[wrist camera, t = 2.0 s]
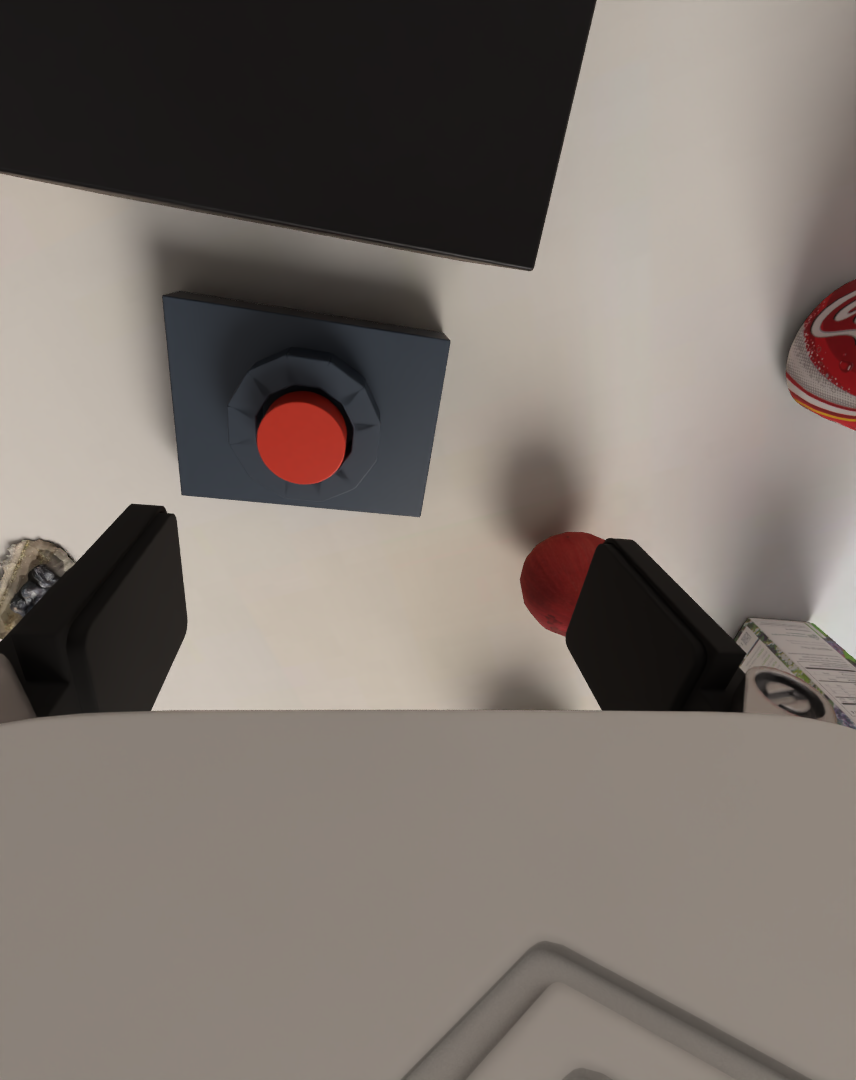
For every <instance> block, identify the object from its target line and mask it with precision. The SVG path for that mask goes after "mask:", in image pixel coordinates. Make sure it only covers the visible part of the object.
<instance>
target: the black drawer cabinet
mask: <svg viewBox="0 0 856 1080" xmlns="http://www.w3.org/2000/svg"><path fill="white" fill-rule="evenodd" d="M596 1H597V0H0V173H1V174H6V175H11V176H16V177H21V178H26V179H31V180H35V181H40V182H45V183H50V184H55V185H60V186H65V187H70V188H75V189H80V190H85V191H90V192H95V193H100V194H105V195H110V196H116V197H121V198H126V199H132V200H137V201H142V202H148V203H153V204H158V205H164V206H169V207H175V208H180V209H185V210H191V211H196V212H201V213H207V214H212V215H218V216H223V217H228V218H234V219H239V220H244V221H250V222H255V223H260V224H266V225H271V226H277V227H282V228H287V229H293V230H298V231H303V232H309V233H314V234H320V235H325V236H330V237H336V238H341V239H346V240H352V241H357V242H362V243H368V244H373V245H379V246H384V247H389V248H395V249H400V250H405V251H411V252H416V253H422V254H427V255H432V256H438V257H443V258H448V259H454V260H459V261H465V262H472V263H478V264H485V265H492V266H499V267H505V268H512V269H519V270H526V271H532V270H533V268H534V265H535V261H536V257H537V253H538V248H539V244H540V240H541V235H542V231H543V227H544V223H545V218H546V214H547V210H548V206H549V201H550V197H551V193H552V188H553V184H554V180H555V176H556V171H557V167H558V163H559V159H560V154H561V150H562V146H563V142H564V137H565V133H566V129H567V124H568V120H569V116H570V112H571V107H572V103H573V99H574V95H575V90H576V86H577V82H578V77H579V73H580V69H581V65H582V60H583V56H584V52H585V48H586V43H587V39H588V35H589V30H590V26H591V22H592V18H593V13H594V9H595V5H596Z"/></svg>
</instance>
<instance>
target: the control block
mask: <svg viewBox="0 0 856 1080" xmlns="http://www.w3.org/2000/svg"><path fill="white" fill-rule="evenodd" d="M162 299H163V309H164V319H165V329H166V340H167V350H168V360H169V370H170V381H171V391H172V401H173V412H174V422H175V432H176V442H177V453H178V463H179V473H180V483H181V494H182V495H186V496H196V497H207V498H218V499H229V500H240V501H250V502H261V503H272V504H283V505H294V506H305V507H315V508H326V509H337V510H348V511H359V512H369V513H380V514H391V515H402V516H413V517H420V516H421V511H422V505H423V499H424V493H425V487H426V481H427V476H428V470H429V464H430V458H431V452H432V446H433V441H434V435H435V429H436V423H437V417H438V411H439V406H440V400H441V394H442V388H443V382H444V376H445V371H446V365H447V359H448V353H449V347H450V340H449V339H448V337H447V336H446V335H445V334H444V333H441V332H434V331H428V330H422V329H416V328H409V327H403V326H397V325H391V324H384V323H378V322H372V321H365V320H359V319H353V318H347V317H340V316H334V315H328V314H321V313H315V312H309V311H303V310H296V309H290V308H284V307H278V306H271V305H265V304H259V303H252V302H246V301H240V300H234V299H227V298H221V297H215V296H209V295H202V294H196V293H190V292H183V291H179V292H174V293H170V294H166V295H163V296H162ZM295 391H309V392H313V393H316V394H319V395H321V396H323V397H325V398H327V399H328V400H330V401H331V402H332V403H333V404H334V405H335V406H336V407H337V408H338V410H339V411H340V412H341V414H342V416H343V418H344V421H345V424H346V429H347V440H346V449H345V455H344V459H343V461H342V463H341V465H340V467H339V468H338V470H337V471H336V472H335V473H334V474H333V475H332V476H330V477H329V478H327V479H325V480H323V481H321V482H318V483H314V484H296V483H292V482H289V481H286V480H284V479H282V478H280V477H278V476H277V475H276V474H274V473H273V472H272V471H271V470H270V469H269V468H268V467H267V466H266V465H265V463H264V462H263V460H262V458H261V456H260V454H259V451H258V447H257V431H258V427H259V425H260V422H261V421H262V419H263V417H264V415H265V414H266V412H267V411H268V409H269V407H270V406H271V405H272V403H273V402H274V401H275V400H277V399H278V398H279V397H281V396H283V395H285V394H287V393H290V392H295Z"/></svg>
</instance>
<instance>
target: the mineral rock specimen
mask: <svg viewBox="0 0 856 1080" xmlns="http://www.w3.org/2000/svg"><path fill="white" fill-rule="evenodd" d="M7 549H8V551H9V553H10V556H8V555H7V554H6V556H7V557H8V558H7V559H6V560H3V563H1V562H0V565H1V566H3V570H4V573H5V574H3V575H4V576H3V577H1V578H2V580H0V639H3V638H4V637H5V636H6V635H7V634H8V633H9V632H10V631H11V630H12V629H13V628H14V627H15V626H16V625H17V624H18V622H19V621H20V620H21V619H22V618H23V617H24V616H25V615H26V614H27V613H28V612H29V611H30V610H31V609H32V608H33V606H34V605H35V604H36V603H37V602H38V601H39V600H40V599H41V598H42V597H43V596H44V595H45V594H46V593H47V591H48V590H49V589H50V588H51V587H52V586H53V585H54V584H55V583H56V582H57V581H58V580H59V579H60V578H61V577H62V575H63V574H64V573H65V572H66V571H67V570H68V569H69V568H71V567H72V566H73V565H74V564H75V562H73V560H70V558H69V557H68V555H67V553H66V552H64V551H63V550H62V549H61V548H57V547H55V545H54V543H50V542H43V540H40V539H39V541H38V540H36V541H30V540H22V541H21V543H18V544H12V546H11V547H10V548H7Z"/></svg>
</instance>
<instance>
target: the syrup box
mask: <svg viewBox="0 0 856 1080" xmlns="http://www.w3.org/2000/svg"><path fill="white" fill-rule="evenodd" d="M734 641H735V642H736V643H737V644H738V645H739V646H740V647H741V648H742V649H743V650H744V651H745V652H746V653H747V654H746V656H745V657H744V659H743V661H742V662H741V664H740V666H739V668H740V669H741V670H742V671H743V672H744V673H745V674H746V672H747V671H748V669H750V668H752V667H754V666H766V667H772V668H776V669H779V670H782V671H785V672H788V673H790V674H792V675H794V676H796V677H798V678H800V679H802V680H803V681H805V682H807V683H808V684H810V685H811V686H813V687H814V688H815V689H816V690H818V691H819V692H820V693H821V694H822V695H823V696H825V698H826V699H827V700H828V701H829V702H830V704H831V705H832V706H833V709H834V711H835V713H836V718H837V724H838V725H842V726H846V727H849V728H852V729H855V730H856V660H855V659H854V658H853V657H852V656H851V655H849V654H848V653H847V652H846V651H845V650H844V649H843V648H841V647H840V646H839V645H838V644H837V643H836V642H834V641H833V640H832V639H831V638H830V637H829V636H828V635H826V634H825V633H824V632H823V631H822V630H821V629H819V628H818V627H817V626H816V625H815V624H813V623H809V622H798V621H787V620H775V619H761V618H748V619H747V620H746V622H745V624H744V625H743V627H742V628H741V630H740V631H739V633H738V634H737V636H736V638H735V639H734Z"/></svg>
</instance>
